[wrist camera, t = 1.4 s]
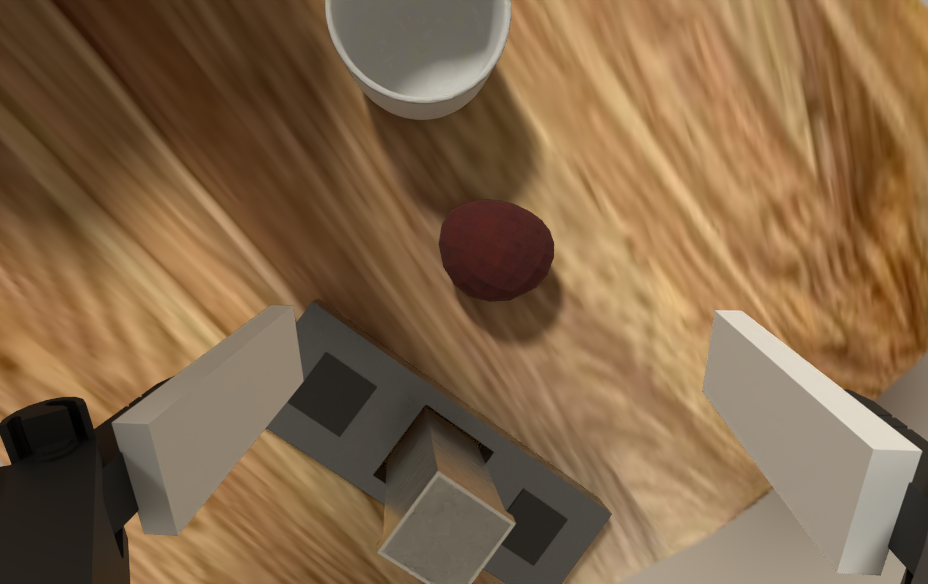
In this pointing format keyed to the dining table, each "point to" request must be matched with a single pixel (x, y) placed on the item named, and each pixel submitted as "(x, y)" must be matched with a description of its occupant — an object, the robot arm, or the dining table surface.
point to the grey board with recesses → (391, 413)
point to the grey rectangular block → (440, 505)
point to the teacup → (419, 50)
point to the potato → (495, 249)
